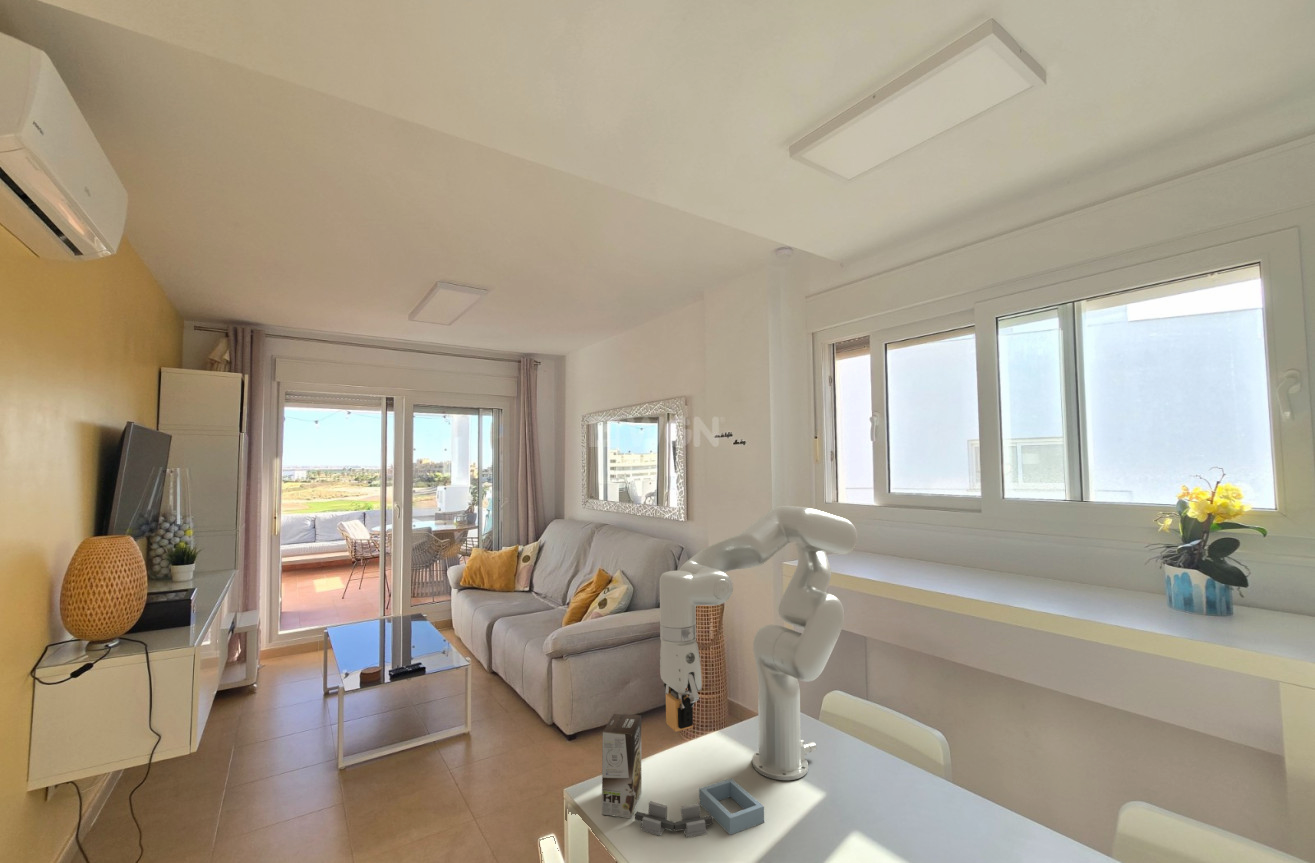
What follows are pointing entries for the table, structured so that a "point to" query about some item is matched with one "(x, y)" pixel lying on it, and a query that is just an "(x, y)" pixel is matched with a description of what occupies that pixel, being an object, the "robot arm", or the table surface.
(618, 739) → the coffee box
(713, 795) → the frame
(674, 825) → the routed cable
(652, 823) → the clip
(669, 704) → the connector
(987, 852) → the table surface
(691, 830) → the clip
